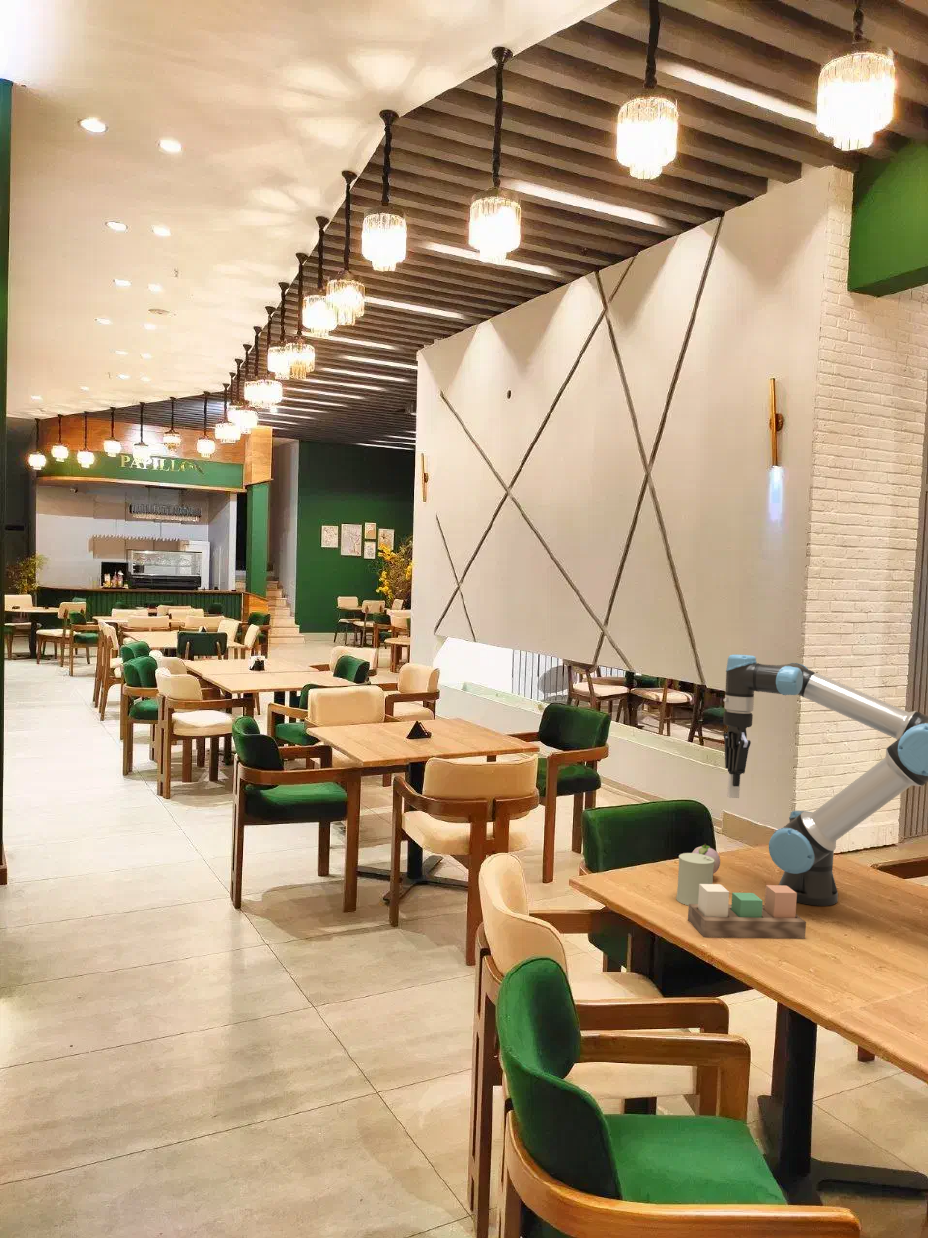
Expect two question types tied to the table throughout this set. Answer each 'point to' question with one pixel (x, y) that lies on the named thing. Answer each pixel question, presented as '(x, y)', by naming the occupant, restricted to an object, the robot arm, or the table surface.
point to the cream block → (713, 900)
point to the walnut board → (746, 925)
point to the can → (693, 876)
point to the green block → (746, 905)
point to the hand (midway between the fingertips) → (733, 797)
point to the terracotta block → (780, 901)
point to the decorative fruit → (711, 853)
